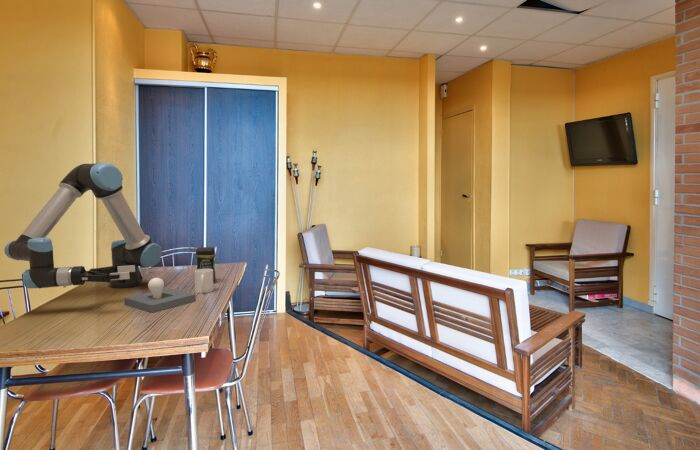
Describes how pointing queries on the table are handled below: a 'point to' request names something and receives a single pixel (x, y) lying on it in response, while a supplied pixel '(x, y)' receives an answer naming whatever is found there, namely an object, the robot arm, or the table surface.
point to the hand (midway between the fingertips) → (132, 271)
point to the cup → (204, 280)
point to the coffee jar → (206, 259)
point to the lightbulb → (156, 287)
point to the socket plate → (159, 300)
